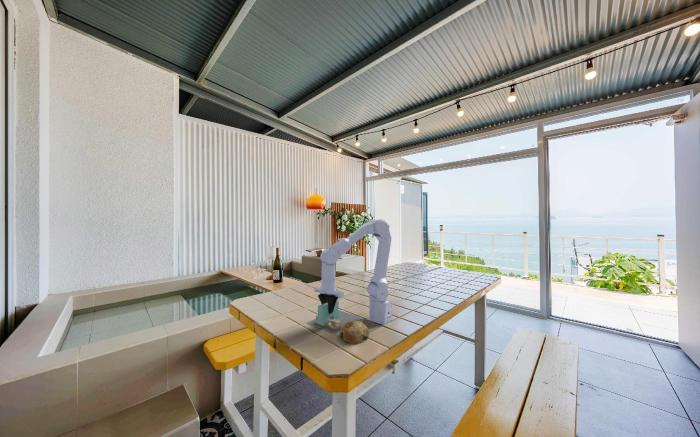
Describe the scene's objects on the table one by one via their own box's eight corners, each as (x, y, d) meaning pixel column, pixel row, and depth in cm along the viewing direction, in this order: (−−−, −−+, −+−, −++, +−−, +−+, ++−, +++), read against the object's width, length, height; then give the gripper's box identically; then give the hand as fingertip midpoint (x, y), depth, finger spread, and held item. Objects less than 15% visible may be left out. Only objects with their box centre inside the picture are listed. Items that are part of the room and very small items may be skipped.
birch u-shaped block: (341, 328, 97) (341, 321, 97) (337, 330, 95) (337, 322, 96) (319, 321, 104) (319, 314, 104) (316, 322, 103) (316, 315, 103)
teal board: (338, 317, 103) (338, 301, 103) (321, 325, 95) (322, 307, 96) (334, 316, 105) (334, 300, 105) (317, 323, 97) (317, 305, 97)
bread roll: (354, 356, 84) (363, 338, 83) (333, 337, 89) (341, 319, 88) (368, 344, 93) (376, 327, 91) (347, 327, 98) (355, 311, 96)
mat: (364, 318, 108) (364, 317, 108) (334, 335, 92) (334, 334, 92) (336, 310, 118) (336, 309, 118) (305, 324, 102) (305, 323, 102)
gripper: (309, 278, 101) (308, 310, 101) (335, 283, 93) (335, 319, 92) (321, 275, 107) (320, 306, 107) (346, 280, 98) (346, 314, 98)
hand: (328, 312), depth 100 cm, fingers closed on teal board, 2 cm apart
